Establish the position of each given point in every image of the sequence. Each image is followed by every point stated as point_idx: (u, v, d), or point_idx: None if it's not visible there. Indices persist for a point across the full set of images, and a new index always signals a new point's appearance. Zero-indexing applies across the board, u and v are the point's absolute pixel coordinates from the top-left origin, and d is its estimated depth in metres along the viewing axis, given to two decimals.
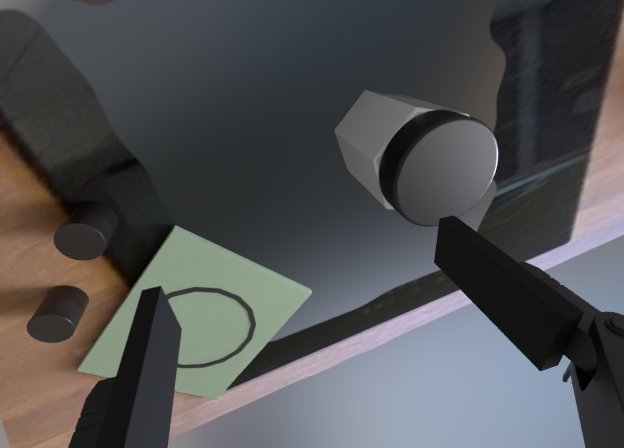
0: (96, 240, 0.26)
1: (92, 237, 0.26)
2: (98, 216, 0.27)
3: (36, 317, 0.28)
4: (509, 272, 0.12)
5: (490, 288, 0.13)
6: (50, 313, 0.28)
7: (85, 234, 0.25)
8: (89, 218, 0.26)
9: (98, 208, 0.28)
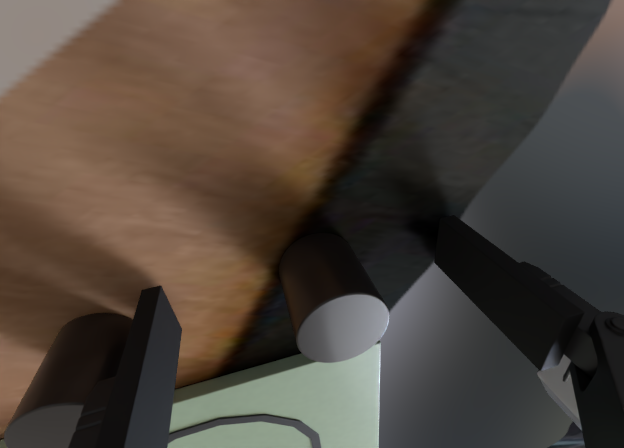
0: (364, 340, 0.12)
1: (367, 333, 0.12)
2: None
3: (77, 404, 0.10)
4: (509, 272, 0.12)
5: (490, 288, 0.13)
6: None
7: (368, 324, 0.12)
8: None
9: None
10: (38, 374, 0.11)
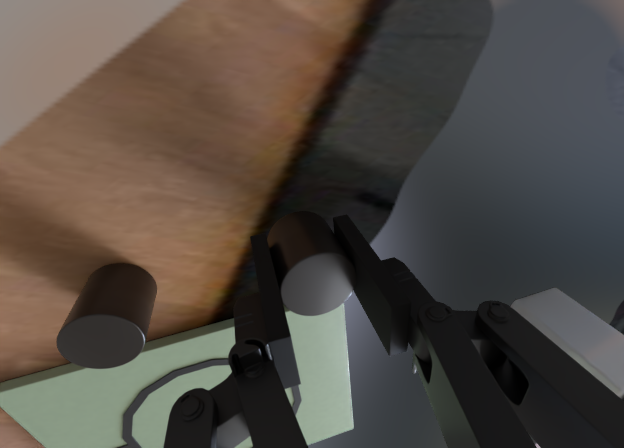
0: (337, 296, 0.15)
1: (339, 290, 0.15)
2: None
3: (109, 316, 0.14)
4: (367, 266, 0.13)
5: (360, 282, 0.14)
6: (134, 322, 0.15)
7: (338, 281, 0.14)
8: None
9: None
10: (78, 301, 0.15)
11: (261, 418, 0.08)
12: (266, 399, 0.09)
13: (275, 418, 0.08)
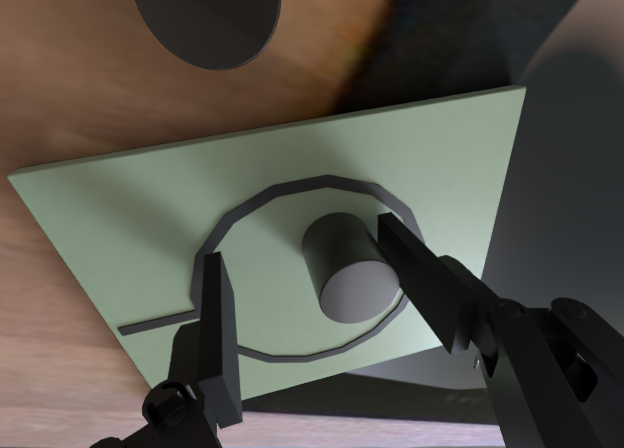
0: (378, 304, 0.14)
1: (380, 298, 0.14)
2: None
3: None
4: (425, 263, 0.12)
5: (414, 280, 0.14)
6: None
7: (381, 289, 0.13)
8: None
9: None
10: None
11: None
12: (191, 446, 0.08)
13: None
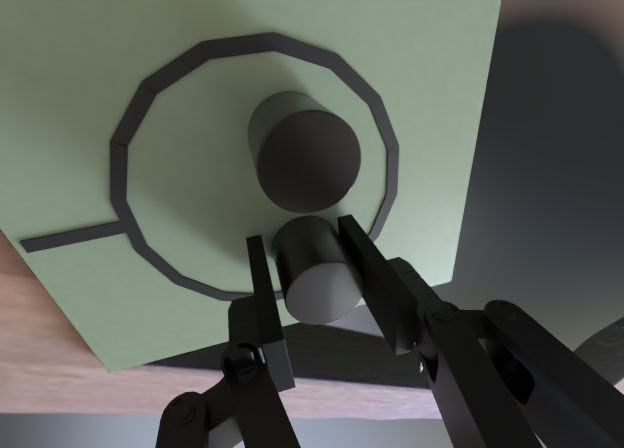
0: (335, 186, 0.11)
1: (337, 176, 0.11)
2: None
3: (344, 263, 0.13)
4: (372, 266, 0.13)
5: (366, 281, 0.14)
6: (360, 272, 0.14)
7: (337, 161, 0.11)
8: None
9: None
10: (293, 249, 0.14)
11: (254, 422, 0.08)
12: (259, 403, 0.09)
13: (268, 422, 0.08)
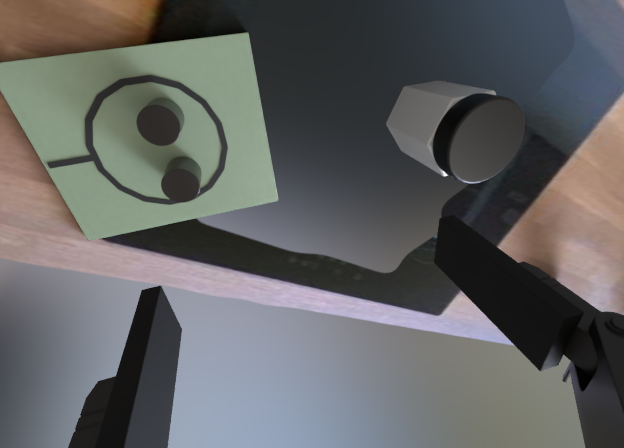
0: (171, 134, 0.29)
1: (171, 130, 0.29)
2: (181, 119, 0.30)
3: (185, 170, 0.31)
4: (509, 272, 0.12)
5: (489, 288, 0.13)
6: (195, 176, 0.31)
7: (169, 124, 0.28)
8: (179, 116, 0.29)
9: (181, 113, 0.31)
10: (168, 167, 0.32)
11: None
12: None
13: None
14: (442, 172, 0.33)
